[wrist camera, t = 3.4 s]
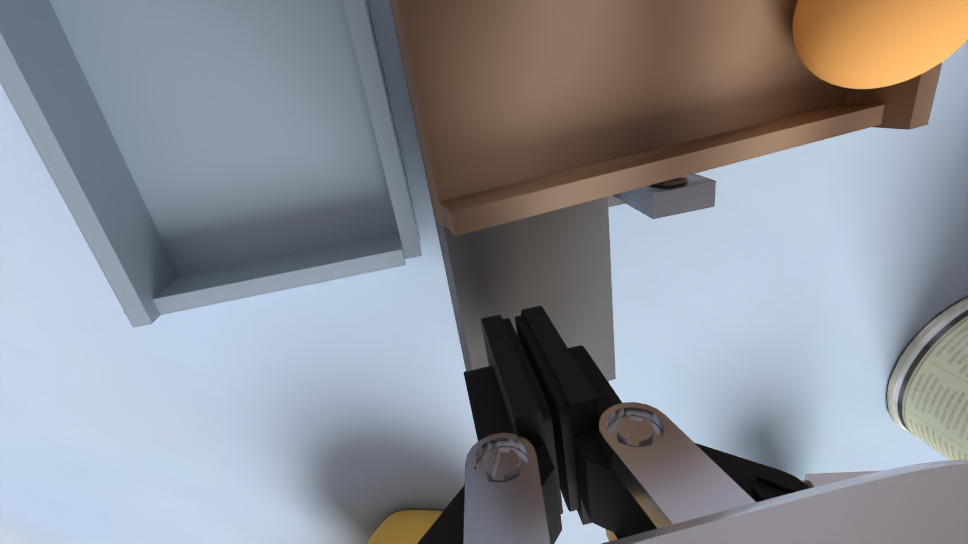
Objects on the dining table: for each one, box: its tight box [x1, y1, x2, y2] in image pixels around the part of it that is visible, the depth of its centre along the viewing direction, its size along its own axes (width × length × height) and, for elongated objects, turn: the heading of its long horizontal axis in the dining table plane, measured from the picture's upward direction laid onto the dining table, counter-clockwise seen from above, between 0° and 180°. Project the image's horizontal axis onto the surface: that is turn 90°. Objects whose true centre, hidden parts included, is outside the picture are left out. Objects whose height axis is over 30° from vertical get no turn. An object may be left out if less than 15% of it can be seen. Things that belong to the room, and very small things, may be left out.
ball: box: [792, 0, 968, 89], centre depth 12 cm, size 4×4×4 cm
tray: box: [0, 0, 422, 327], centre depth 15 cm, size 10×12×3 cm
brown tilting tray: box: [390, 0, 942, 381], centre depth 14 cm, size 15×14×4 cm
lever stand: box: [608, 174, 716, 219], centre depth 15 cm, size 4×12×6 cm, turn 9°
